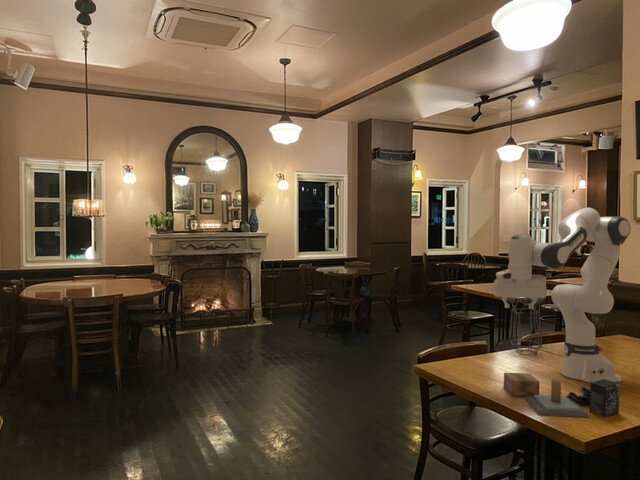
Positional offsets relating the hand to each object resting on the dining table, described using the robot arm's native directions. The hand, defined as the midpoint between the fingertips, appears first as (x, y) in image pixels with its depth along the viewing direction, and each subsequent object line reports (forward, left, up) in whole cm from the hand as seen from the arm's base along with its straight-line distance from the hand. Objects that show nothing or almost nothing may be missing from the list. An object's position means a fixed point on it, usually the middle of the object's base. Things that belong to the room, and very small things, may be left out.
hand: (519, 308), depth 187 cm
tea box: (+2, +10, -31) cm, 33 cm away
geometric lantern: (-18, -48, -31) cm, 60 cm away
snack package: (-18, +17, -32) cm, 40 cm away
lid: (-5, +25, -30) cm, 39 cm away
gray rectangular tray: (-5, +25, -31) cm, 40 cm away
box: (-20, +27, -31) cm, 46 cm away
